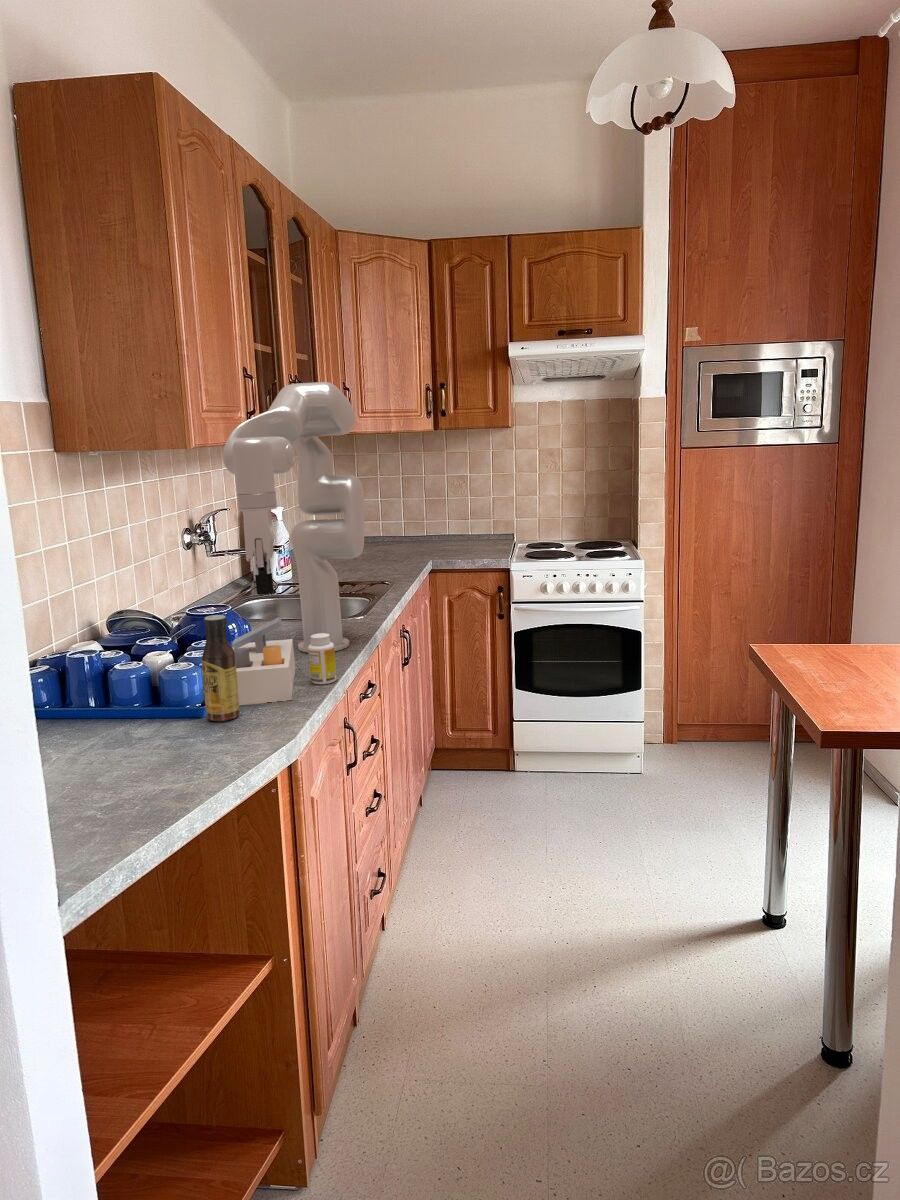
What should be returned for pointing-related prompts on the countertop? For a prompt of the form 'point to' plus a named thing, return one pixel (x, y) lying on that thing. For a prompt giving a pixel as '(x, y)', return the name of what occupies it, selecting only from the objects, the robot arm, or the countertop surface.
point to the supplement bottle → (322, 659)
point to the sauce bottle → (219, 672)
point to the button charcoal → (242, 657)
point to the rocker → (257, 633)
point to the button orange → (272, 655)
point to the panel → (266, 674)
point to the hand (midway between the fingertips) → (265, 593)
